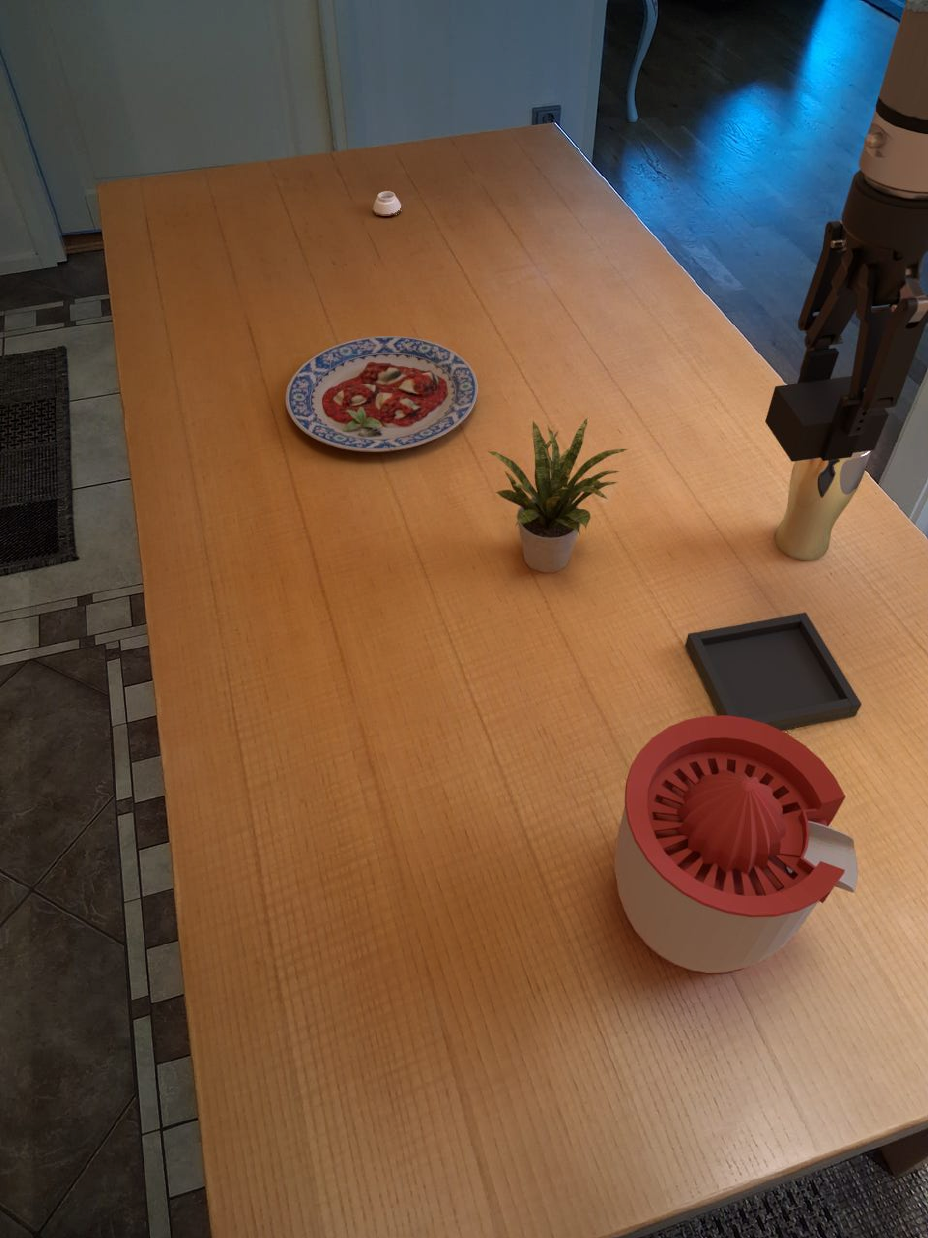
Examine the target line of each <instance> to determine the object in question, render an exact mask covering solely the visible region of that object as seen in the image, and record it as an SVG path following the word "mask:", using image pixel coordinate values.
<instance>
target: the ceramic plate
mask: <svg viewBox="0 0 928 1238" xmlns="http://www.w3.org/2000/svg"><path fill="white" fill-rule="evenodd" d="M478 384H479V383H478V379H477V376H476V374H475V372H474V370H473V367H471V365H470V364H469V363H468V361H466V360H465V359H464V358H463V357H462V356H460V355H459V354H458V353H457V352H455V351H454V350H451V349H450V348H448V347H446V346H444V345H441V344H439V343H436V342H434V341H430V340H426V339H422V338H417V337H412V336H411V337H410V336H408V337H407V336H401V335H377V336H371V337H370V336H369V337H363V338H357V339H353V340H348V341H346V342H343V343H339V344H335V345H334V346H330V347H329V348H327V349H324V350H323V351H321V352H319V353H318V354H316V355H314V356H313V357H311V358H310V359H308V360H307V361H305V362H304V363H303V364H302V365H301V366H300V367H299V368H298V369H297V371H296V372H295V373H293V375H292V377H291V379H290V380H289V382H288V385H287V388H286V391H285V405H286V409H287V412H288V414H289V416H290V418H291V420H292V421H293V423H295V425H296V426H297V427H298V428H299V429H300V430H301V431H302V432H303V433H305V434H306V435H308V436H309V437H311V438H312V439H314V440H316V441H318V442H321V443H323V444H325V445H327V446H332V447H335V448H339V449H343V450H349V451H354V452H365V453H367V452H368V453H371V452H372V453H385V452H393V451H398V450H405V449H410V448H415V447H417V446H420V445H424V444H427V443H429V442H433V441H434V440H436V439H438V438H440V437H443V436H444V435H446V434H448V433H449V432H451V431H452V430H454V429H455V428H457V427H458V426H460V424H461V423H462V422H463V421H464V420H465V419H466V418H467V417H468V416H469V414H470V413H471V411H472V410H473V408H474V406H475V404H476V401H477V398H478V391H479V385H478Z"/></svg>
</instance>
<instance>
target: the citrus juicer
mask: <svg viewBox="0 0 928 1238" xmlns="http://www.w3.org/2000/svg"><path fill="white" fill-rule="evenodd" d="M630 765H631V766H630V768H629V770H628V771H629V772H628V774H627V778H626V781H625V790H624V807H623V811H622V815H621V819H620V824H619V828H618V832H617V836H616V842H615V843H616V844H615V855H614V870H615V878H616V886H617V893H618V896H619V899H620V904H621V906H622V909H623V912H624V916H625V918H626V920H627V921H628V923H629V925H630V926H631V928H632V929H633V932H634V933H635V934H636V936H637V937H638V938H639V939H640V941H642V943H643V944H644V945H645V947H646V948H648V949H649V950H650V951H651V952H652V953H653V954H655V955H656V956H657V957H658V958H660V959H661V960H663V961H665V962H667V963H668V964H670V965H672V966H673V967H676V968H679V969H682V970H683V971H684V970H685V971H687V972H690V973H697V974H703V975H727V974H730V973H735V972H740V971H742V970H744V969H746V968H750V967H753V966H754V965H756V964H758V963H760V962H762V961H764V960H766V959H768V958H769V957H771V956H772V955H774V954H776V953H777V952H778V951H779V950H781V948H783V947H784V946H785V945H786V944H787V943H789V942H790V941H791V939H792V938H793V937H794V936H795V935H796V934H797V933H798V931H799V930H800V929H801V928H802V926H803V925H804V923H805V922H806V920H807V919H808V917H809V916H810V915H811V913H812V912H813V910H814V909H815V908H816V906H817V905H818V903H821V904H824V902H826V900H827V898H828V896H829V895H830V894H831V892H832V891H833V890H834V888H835V887H836V888H838V889H841V890H843V891H847V892H850V893H853V894H855V891H856V889H857V884H858V879H859V878H858V877H859V876H858V875H859V869H858V867H859V866H858V859H857V853H856V847H855V841H854V838H853V836H851V835H849V834H848V833H846V832H844V831H840V830H838V829H836V828H833V827H830V824H831V823H832V822H833V820H834V819H835V817H836V816H837V814H838V812H839V810H840V808H841V806H842V804H843V802H844V800H845V798H846V795H845V793H844V791H843V789H842V787H841V786H840V784H839V782H838V780H837V778H836V777H835V775H834V773H832V771H831V770H830V769H829V768H828V766H827V765H826V764H825V763H824V762H823V761H822V759H821V758H820V757H819V756H818V755H817V754H816V753H814V752H813V751H812V750H811V749H810V748H809V747H808V746H806V744H804V743H803V742H801V741H799V740H798V739H797V738H795V737H794V736H792V735H790V734H789V733H787V732H785V731H784V730H778V729H776V728H774V727H772V726H770V725H768V724H765V723H761V722H758V721H754V720H751V719H748V718H742V717H734V716H727V715H720V716H719V715H702V716H697V717H693V718H692V717H691V718H688V719H684V720H682V721H679V722H677V723H675V724H672V725H670V726H667V727H666V728H665V729H663V730H662V731H661V732H659V733H657V734H655V735H654V736H653V737H652V738H651V739H650V740H648V741H647V743H646V744H645V745H644V746H643V747H642V748H641V749H640V750H639V751H638V753H637V755H636V757H635V758H634V760H633V762H632V764H630Z"/></svg>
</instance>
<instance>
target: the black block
mask: <svg viewBox="0 0 928 1238" xmlns="http://www.w3.org/2000/svg"><path fill="white" fill-rule="evenodd" d="M851 378H852V375H849V376H848V375H847V376H842V377H834V378H830V379H827V380H819V381H812V382H804V383H798V382H797V383H796V382H795V383H790V384H782V385H781V384H780V385H775V387H774V389H773V392H772V396H771V400H770V403H769V407H768V411H767V414H766V418H765V424H766V425H767V427H768V428H769V430H770V431H771V433H772V434H773V436H774V437H775V439H776V441H777V442H778V443H779V446H780V447H781V448H782V449H783V451H784V452H785V454H786V456H787V457H788V459H789V460H790V462H791V463H794V462H795V461H801V460H808V459H815V458H821V457H820V453H821V451H822V448H823V445H824V442H825V439H826V437H827V434H828V431H829V428H830V425H831V423H832V420H833V417H834V414H835V411H836V409H837V406H838V403H839V400H840V396H841V395H848V394H849V391H850V384H851ZM889 416H890V414H889V412H888V411H887V410H886V409H878V410H873V412H872V414H871V417H870V419H869V421H868V424H867V427H866V429H865V431H864V432H863V434H860V437H859V439H858V442H857V444H856V447H855V449H854V452H853V453H856V452H863V451H870V450H871V451H875V449H876V447H877V445H878V442H879V439H880V437H881V435H882V433H883V430H884V427H885V425H886V422H887V420H888V418H889Z"/></svg>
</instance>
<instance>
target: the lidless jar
mask: <svg viewBox="0 0 928 1238" xmlns="http://www.w3.org/2000/svg"><path fill="white" fill-rule="evenodd" d="M401 206H402V203H401V202H400V201H399V198H398V197H397V196H396V193H394V192H393V191H389V190H385V191H381V192H379V193H378V194H377V196H376V199H375V201H374V204H373V207H372V211H373V210H374V211H375V212H378V213H381V214H391V213H395V212H397V211H398V210H400V208H401Z"/></svg>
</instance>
